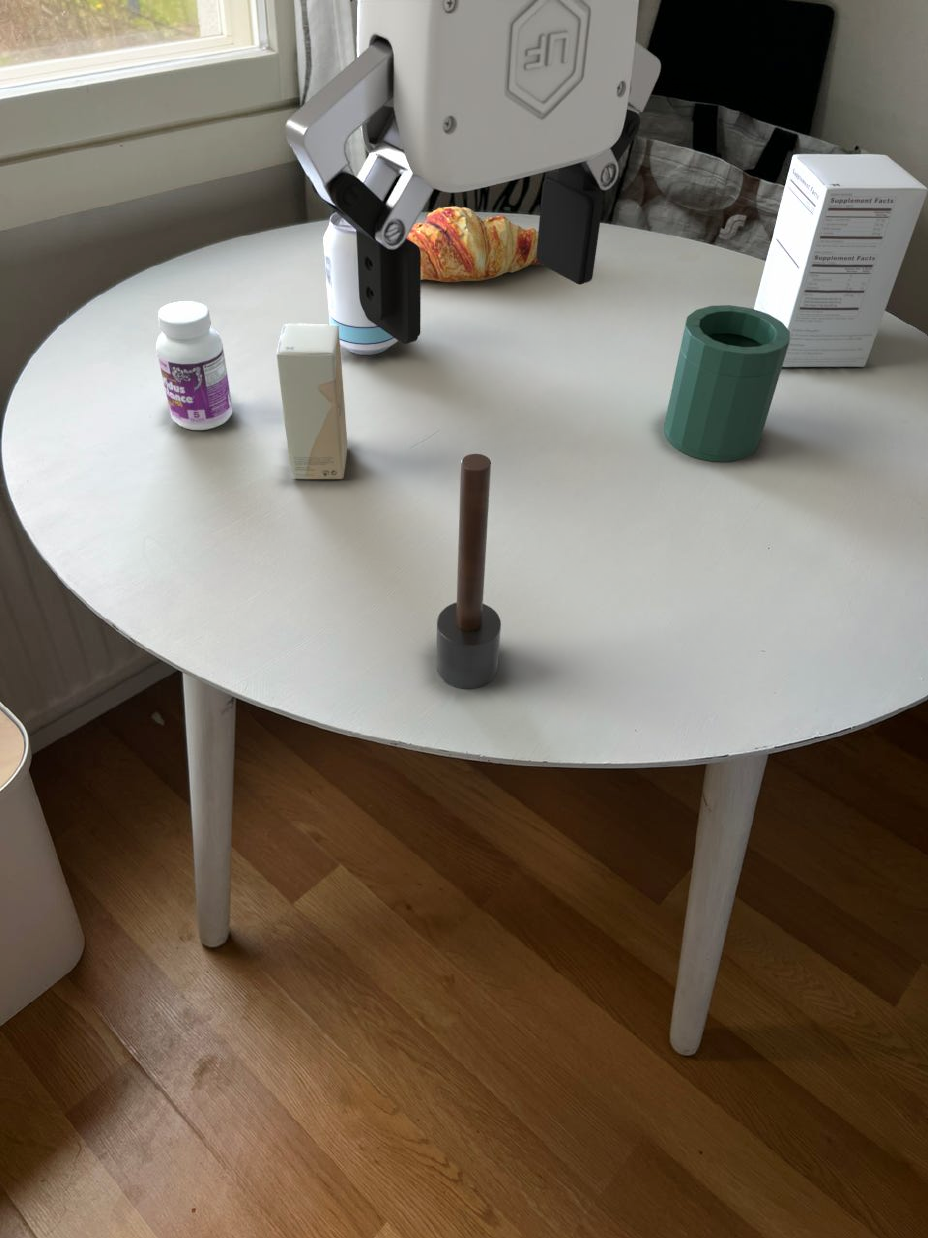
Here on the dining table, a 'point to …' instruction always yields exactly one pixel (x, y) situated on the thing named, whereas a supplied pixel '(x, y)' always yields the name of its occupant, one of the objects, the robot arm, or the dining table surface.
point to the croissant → (471, 246)
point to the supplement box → (837, 254)
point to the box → (313, 400)
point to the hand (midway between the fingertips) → (481, 299)
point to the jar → (725, 382)
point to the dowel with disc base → (470, 590)
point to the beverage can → (349, 292)
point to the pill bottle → (193, 366)
